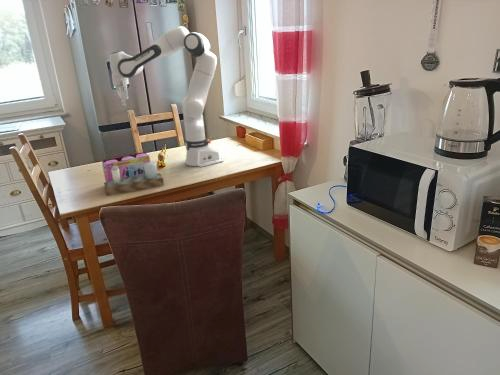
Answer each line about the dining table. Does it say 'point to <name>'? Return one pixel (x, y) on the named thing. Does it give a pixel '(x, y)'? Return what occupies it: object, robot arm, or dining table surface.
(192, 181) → the dining table surface
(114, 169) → the shaker
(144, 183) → the podium
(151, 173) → the white short cylinder
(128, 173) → the gum box
